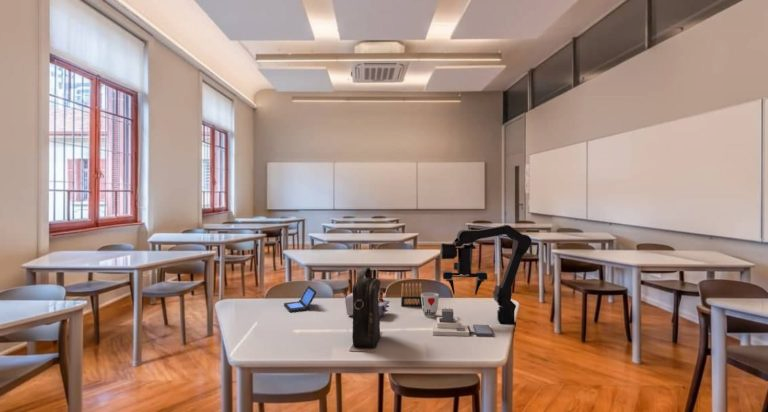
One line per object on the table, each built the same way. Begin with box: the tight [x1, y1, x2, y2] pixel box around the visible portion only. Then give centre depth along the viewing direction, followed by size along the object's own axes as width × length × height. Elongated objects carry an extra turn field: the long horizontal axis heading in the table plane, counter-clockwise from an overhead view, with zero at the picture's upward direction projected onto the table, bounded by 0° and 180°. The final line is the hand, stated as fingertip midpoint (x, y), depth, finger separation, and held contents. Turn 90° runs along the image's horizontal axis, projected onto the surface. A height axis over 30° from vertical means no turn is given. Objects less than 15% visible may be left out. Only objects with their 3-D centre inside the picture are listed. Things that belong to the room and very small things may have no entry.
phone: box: [472, 324, 494, 338], centre depth 165 cm, size 6×12×1 cm, turn 174°
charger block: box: [441, 306, 454, 323], centre depth 169 cm, size 4×4×7 cm
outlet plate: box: [432, 316, 470, 337], centre depth 167 cm, size 14×14×4 cm
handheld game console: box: [283, 285, 317, 313], centre depth 205 cm, size 16×13×9 cm
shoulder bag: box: [348, 266, 383, 353], centre depth 155 cm, size 23×9×28 cm, turn 173°
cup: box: [421, 292, 440, 318], centre depth 188 cm, size 8×8×10 cm
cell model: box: [344, 292, 390, 318], centre depth 190 cm, size 13×11×20 cm
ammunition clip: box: [400, 282, 423, 308], centre depth 206 cm, size 11×2×12 cm, turn 85°
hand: (464, 294), depth 178 cm, fingers open, 9 cm apart
